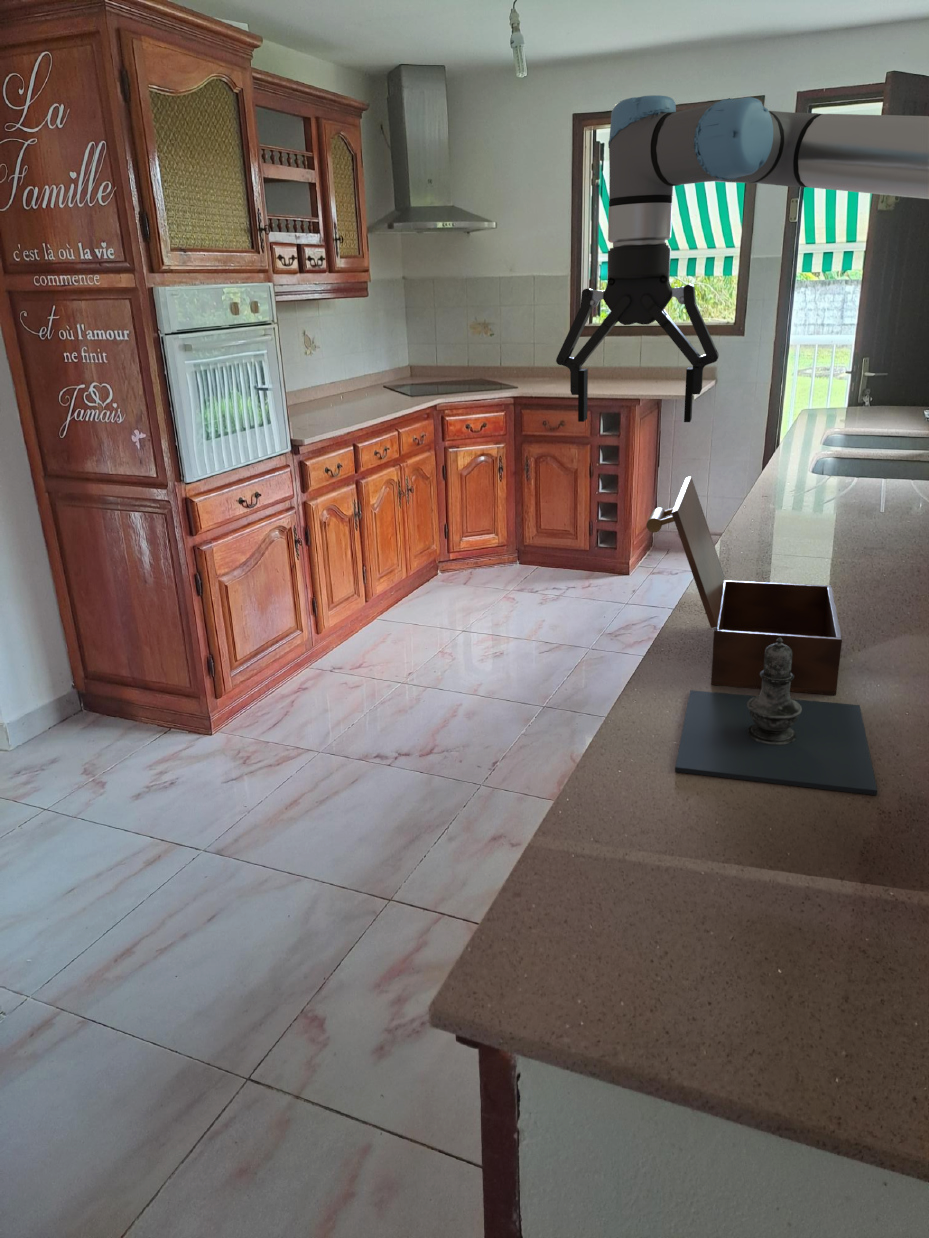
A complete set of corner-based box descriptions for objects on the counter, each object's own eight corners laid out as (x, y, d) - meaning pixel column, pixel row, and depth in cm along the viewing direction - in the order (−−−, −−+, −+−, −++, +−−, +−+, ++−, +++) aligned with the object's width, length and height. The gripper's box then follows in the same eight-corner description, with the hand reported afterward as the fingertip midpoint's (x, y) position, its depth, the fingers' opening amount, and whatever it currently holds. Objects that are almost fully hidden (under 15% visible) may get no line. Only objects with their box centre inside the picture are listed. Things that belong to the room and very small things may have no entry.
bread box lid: (691, 475, 127) (652, 488, 130) (677, 510, 109) (632, 524, 111) (724, 576, 131) (686, 587, 133) (717, 626, 112) (673, 638, 115)
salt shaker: (749, 718, 105) (756, 624, 100) (802, 727, 102) (811, 630, 98) (740, 741, 100) (747, 643, 95) (795, 750, 97) (805, 650, 93)
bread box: (826, 634, 129) (831, 585, 127) (835, 695, 111) (842, 639, 108) (719, 627, 134) (722, 580, 131) (710, 684, 115) (713, 630, 113)
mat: (859, 709, 107) (859, 704, 107) (876, 795, 89) (877, 790, 89) (689, 694, 113) (690, 689, 113) (675, 772, 95) (675, 767, 95)
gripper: (746, 239, 107) (734, 416, 115) (545, 250, 114) (547, 416, 122) (745, 237, 100) (732, 425, 108) (532, 249, 108) (534, 424, 115)
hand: (634, 420), depth 115 cm, fingers open, 13 cm apart
